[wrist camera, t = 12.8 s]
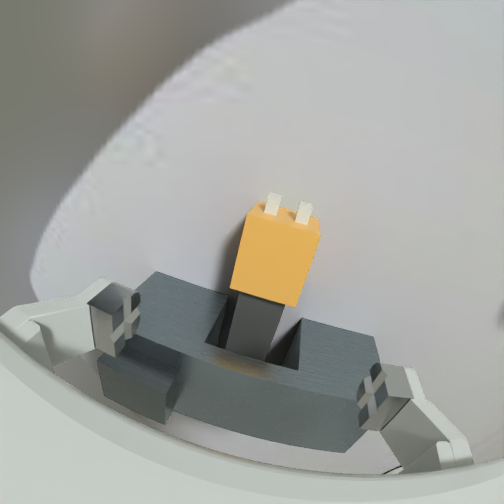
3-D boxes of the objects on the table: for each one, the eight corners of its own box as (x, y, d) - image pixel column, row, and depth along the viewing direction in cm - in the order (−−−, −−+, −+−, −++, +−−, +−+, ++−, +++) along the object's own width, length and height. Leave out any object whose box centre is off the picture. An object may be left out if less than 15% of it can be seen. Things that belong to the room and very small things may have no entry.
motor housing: (341, 388, 25) (344, 476, 16) (152, 330, 27) (97, 400, 17) (373, 336, 22) (395, 432, 13) (156, 271, 24) (83, 338, 14)
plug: (253, 396, 28) (244, 427, 24) (213, 384, 28) (201, 414, 24) (322, 202, 20) (327, 216, 15) (263, 185, 20) (251, 194, 16)
